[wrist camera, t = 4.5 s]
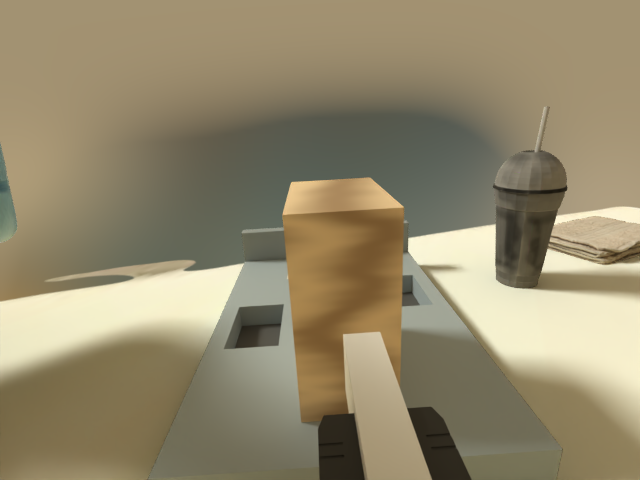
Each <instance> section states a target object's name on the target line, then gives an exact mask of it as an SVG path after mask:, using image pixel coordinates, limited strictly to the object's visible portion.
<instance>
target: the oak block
mask: <svg viewBox="0 0 640 480" xmlns="http://www.w3.org/2000/svg"><path fill="white" fill-rule="evenodd" d="M283 226H284V237H285V248H286V259H287V270H288V281H289V292H290V303H291V315H292V326H293V337H294V348H295V359H296V370H297V381H298V392H299V403H300V414H301V422H314V421H321V420H322V418H323V416H324V415H335V414H349V411H348V404H347V397H346V390H345V368H344V345H343V334H354V333H369V332H380V333H381V336H382V339H383V342H384V345H385V348H386V350H387V353H388V356H389V359H390V362H391V365H392V367H393V370H394V373H395V376H396V379H397V382H398V385H399V387H400V368H401V323H402V278H403V233H404V207H403V206H402V205H401V204H400V203H398V202H397V201H396V200H395V199H394V198H393V197H392V196H390V195H389V194H388V193H387V192H386V191H385V190H383V189H382V188H381V187H380V186H379V185H378V184H377V183H375V182H374V181H373V180H372V179H371V178H356V179H339V180H322V181H306V182H291V185H290V189H289V193H288V196H287V200H286V204H285V207H284V211H283Z"/></svg>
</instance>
